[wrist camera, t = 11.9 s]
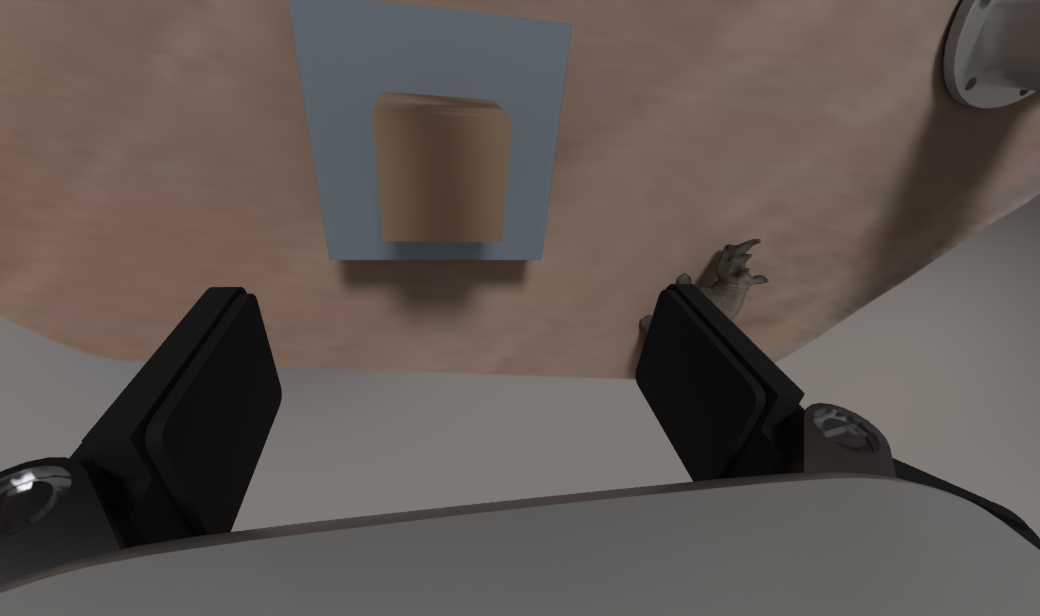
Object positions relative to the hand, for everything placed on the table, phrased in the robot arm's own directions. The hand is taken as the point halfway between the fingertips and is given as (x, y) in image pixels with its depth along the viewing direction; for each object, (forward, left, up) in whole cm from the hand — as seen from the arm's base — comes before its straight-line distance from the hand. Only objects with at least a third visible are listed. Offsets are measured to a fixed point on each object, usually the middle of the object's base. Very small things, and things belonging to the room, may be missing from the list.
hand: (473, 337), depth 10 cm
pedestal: (0, 0, -22) cm, 22 cm away
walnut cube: (0, 0, -18) cm, 18 cm away
